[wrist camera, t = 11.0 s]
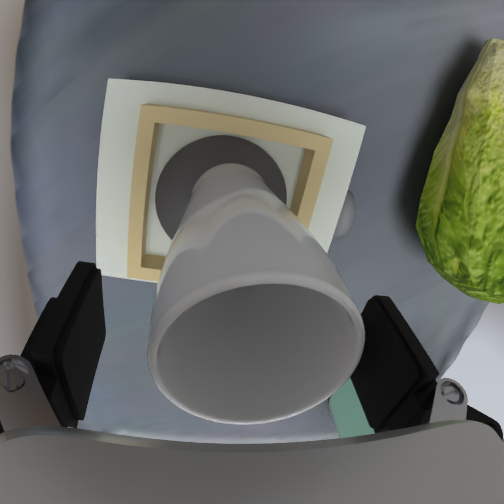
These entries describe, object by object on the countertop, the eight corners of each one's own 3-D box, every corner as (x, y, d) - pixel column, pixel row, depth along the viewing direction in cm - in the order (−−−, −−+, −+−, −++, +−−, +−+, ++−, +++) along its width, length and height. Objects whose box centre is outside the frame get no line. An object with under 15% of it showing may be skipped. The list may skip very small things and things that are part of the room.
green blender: (423, 372, 43) (514, 552, 13) (355, 418, 47) (419, 598, 16) (375, 315, 35) (511, 590, 5) (287, 378, 39) (355, 645, 8)
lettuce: (516, 79, 24) (595, 71, 11) (484, 271, 32) (550, 327, 19) (413, 31, 24) (481, -15, 11) (380, 254, 32) (434, 321, 19)
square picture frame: (123, 79, 21) (98, 78, 16) (357, 123, 25) (393, 135, 19) (109, 250, 28) (90, 288, 22) (311, 276, 31) (329, 314, 26)
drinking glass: (184, 245, 23) (167, 431, 10) (177, 153, 20) (118, 280, 7) (277, 240, 24) (345, 413, 11) (279, 149, 21) (392, 262, 8)
